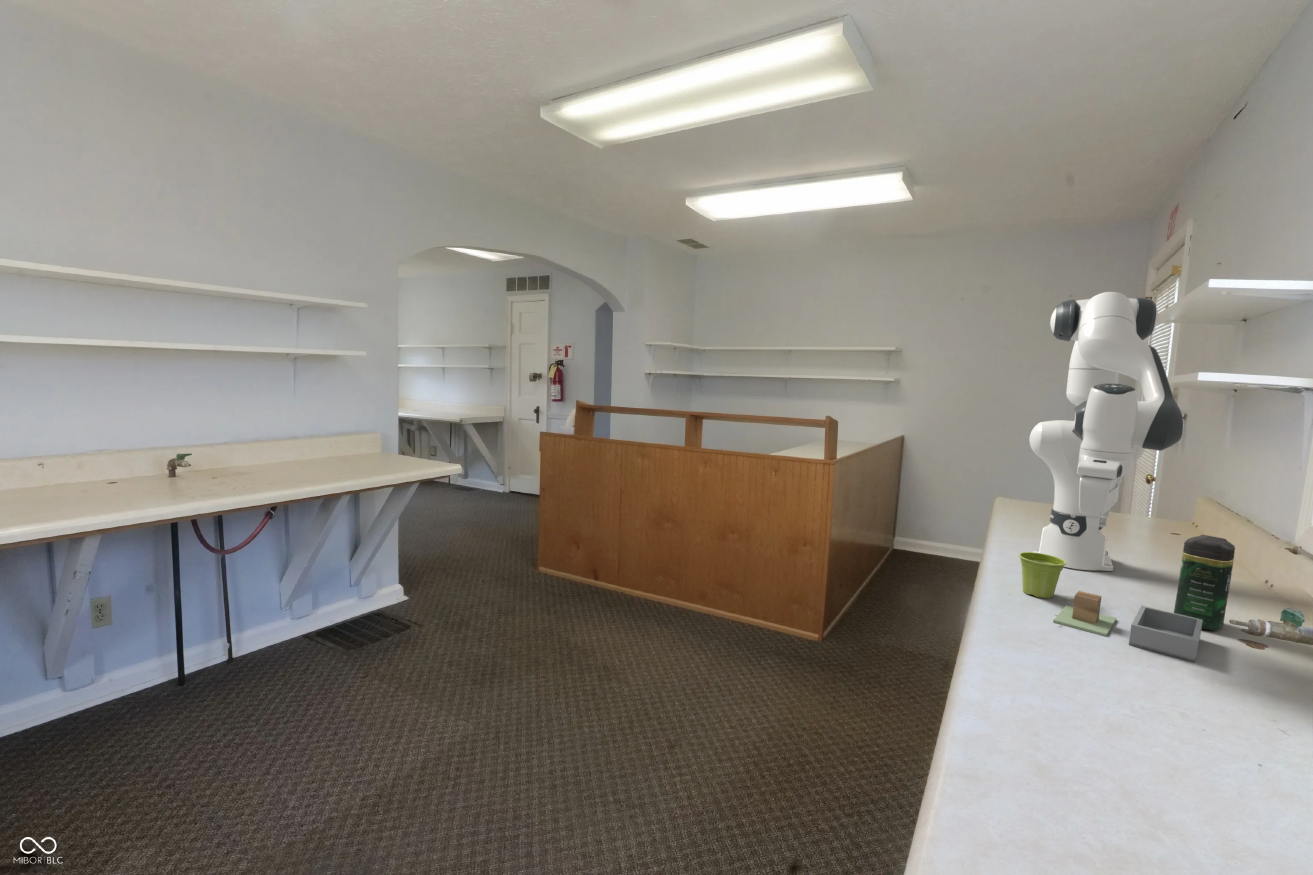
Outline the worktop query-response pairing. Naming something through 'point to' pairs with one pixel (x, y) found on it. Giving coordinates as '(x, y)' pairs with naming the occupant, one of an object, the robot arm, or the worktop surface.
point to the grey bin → (1166, 633)
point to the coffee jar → (1205, 580)
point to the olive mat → (1099, 628)
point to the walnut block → (1086, 607)
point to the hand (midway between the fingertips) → (1096, 530)
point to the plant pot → (1040, 573)
